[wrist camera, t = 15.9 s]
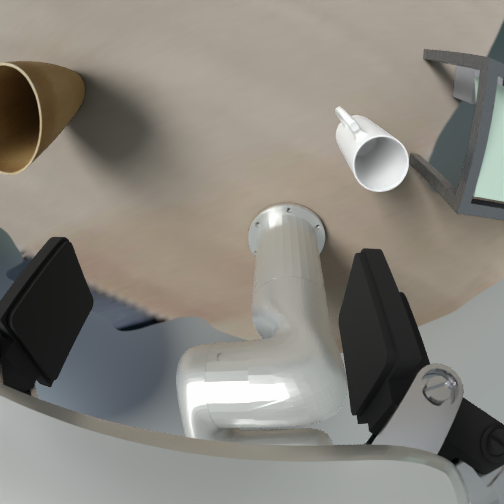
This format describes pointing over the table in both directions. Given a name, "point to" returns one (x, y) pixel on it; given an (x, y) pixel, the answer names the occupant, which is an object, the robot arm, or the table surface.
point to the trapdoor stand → (477, 141)
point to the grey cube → (467, 84)
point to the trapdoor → (493, 153)
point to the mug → (371, 152)
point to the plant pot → (34, 109)
